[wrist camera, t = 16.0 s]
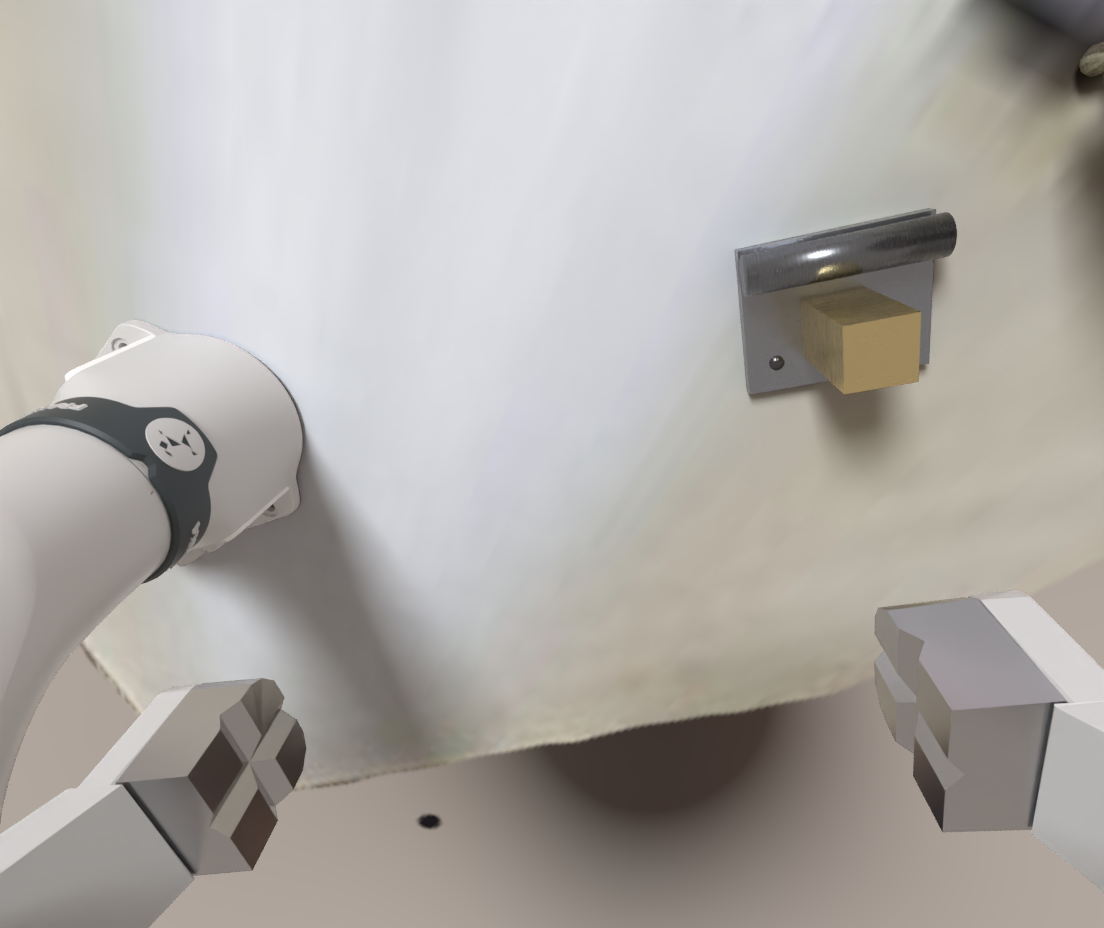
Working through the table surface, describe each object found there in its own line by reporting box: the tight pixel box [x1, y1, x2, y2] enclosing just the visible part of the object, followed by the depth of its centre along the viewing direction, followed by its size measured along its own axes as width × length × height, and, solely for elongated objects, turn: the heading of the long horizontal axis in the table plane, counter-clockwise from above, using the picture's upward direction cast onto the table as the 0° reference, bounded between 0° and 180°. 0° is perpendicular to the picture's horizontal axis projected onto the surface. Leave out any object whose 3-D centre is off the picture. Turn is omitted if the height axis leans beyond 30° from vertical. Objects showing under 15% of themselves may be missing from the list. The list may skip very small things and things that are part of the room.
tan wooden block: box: [800, 286, 921, 394], centre depth 37 cm, size 4×4×8 cm
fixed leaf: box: [735, 208, 957, 395], centre depth 40 cm, size 10×12×4 cm
